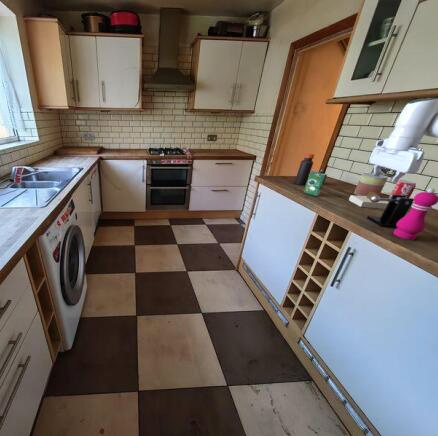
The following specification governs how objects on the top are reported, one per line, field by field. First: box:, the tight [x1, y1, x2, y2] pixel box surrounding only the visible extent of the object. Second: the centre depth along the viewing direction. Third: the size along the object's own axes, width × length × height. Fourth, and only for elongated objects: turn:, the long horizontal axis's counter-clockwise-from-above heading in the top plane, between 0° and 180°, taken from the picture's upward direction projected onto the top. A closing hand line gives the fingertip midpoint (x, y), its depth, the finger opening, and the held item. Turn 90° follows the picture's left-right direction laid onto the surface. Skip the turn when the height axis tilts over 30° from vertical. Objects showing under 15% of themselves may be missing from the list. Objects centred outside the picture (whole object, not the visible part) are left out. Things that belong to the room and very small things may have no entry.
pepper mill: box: [393, 187, 438, 241], centre depth 87 cm, size 7×7×20 cm
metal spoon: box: [370, 195, 404, 203], centre depth 97 cm, size 13×3×3 cm, turn 81°
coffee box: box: [303, 170, 328, 197], centre depth 133 cm, size 8×3×13 cm, turn 26°
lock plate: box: [348, 194, 389, 210], centre depth 122 cm, size 14×10×3 cm
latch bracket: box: [366, 194, 414, 229], centre depth 99 cm, size 12×9×13 cm
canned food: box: [353, 172, 389, 196], centre depth 135 cm, size 11×11×12 cm
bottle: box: [294, 153, 315, 186], centre depth 151 cm, size 7×7×20 cm
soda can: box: [388, 179, 417, 202], centre depth 121 cm, size 7×7×13 cm
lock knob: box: [366, 191, 380, 199], centre depth 121 cm, size 5×2×4 cm, turn 171°
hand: (384, 178), depth 95 cm, fingers open, 8 cm apart
